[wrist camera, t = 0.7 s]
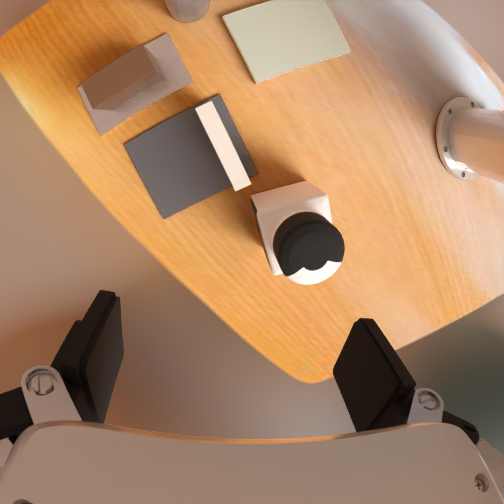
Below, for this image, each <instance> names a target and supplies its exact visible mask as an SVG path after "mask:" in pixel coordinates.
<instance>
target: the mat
mask: <svg viewBox="0 0 504 504" xmlns="http://www.w3.org/2000/svg"><path fill="white" fill-rule="evenodd" d="M210 101H212V103H213V105H214V107H215V109H216V111H217V113H218V115H219V117H220V119H221V121H222V123H223V125H224V127H225V129H226V131H227V133H228V136H229V138H230V140H231V142H232V144H233V146H234V148H235V150H236V152H237V154H238V156H239V159H240V161H241V163H242V165H243V167H244V169H245V171H246V173H247V176H248V178H250V177H252V176H254V175H256V174H258V173H257V171H256V169H255V167H254V165H253V162H252V160H251V158H250V156H249V154H248V152H247V149H246V147H245V145H244V143H243V141H242V139H241V137H240V135H239V132H238V130H237V128H236V126H235V124H234V122H233V120H232V118H231V116H230V114H229V112H228V109H227V107H226V105H225V103H224V101H223V99H222V97H221V95H220V94H219V95H217V96H215V97H213V98H211V99H208V100H206V101H204V102H202V103H200V104H198V105H196V106H194V107H192V108H190V109H188V110H186V111H184V112H182V113H180V114H178V115H176V116H174V117H172V118H170V119H168V120H166V121H164V122H163V123H161V124H159V125H157V126H155V127H154V128H152V129H150V130H148V131H146V132H145V133H143V134H141V135H140V136H138V137H136V138H134V139H133V140H131V141H129V142H128V143H126V144H125V145H124V146H125V148H126V150H127V152H128V154H129V156H130V158H131V160H132V162H133V164H134V166H135V168H136V170H137V171H138V173H139V175H140V177H141V179H142V181H143V183H144V185H145V186H146V188H147V190H148V192H149V194H150V196H151V197H152V199H153V201H154V203H155V205H156V206H157V208H158V210H159V212H160V214H161V215H162V217H163V219H166V218H168V217H170V216H172V215H173V214H175V213H177V212H179V211H181V210H183V209H185V208H187V207H189V206H191V205H193V204H195V203H197V202H199V201H201V200H203V199H205V198H207V197H209V196H212V195H214V194H216V193H218V192H220V191H222V190H224V189H226V188H228V187H230V186H232V183H231V182H230V180H229V178H228V176H227V174H226V172H225V170H224V168H223V166H222V164H221V162H220V160H219V158H218V155H217V153H216V151H215V149H214V147H213V145H212V143H211V141H210V139H209V137H208V135H207V133H206V131H205V129H204V127H203V125H202V123H201V121H200V119H199V116H198V114H197V112H196V110H195V108H197V107H199V106H201V105H203V104H206V103H208V102H210Z"/></svg>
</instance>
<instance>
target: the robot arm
mask: <svg viewBox="0 0 504 504" xmlns="http://www.w3.org/2000/svg"><path fill="white" fill-rule="evenodd" d="M436 142H437V148H438V153H439V156H440V159H441V161H442V163H443V165H444V166H445V168H446V169H447V171H448V172H449V173H450V174H452V175H453V176H455V177H456V178H459V179H461V180H472V179H475V178H476V177H478V176H479V175H482V176H484V177H487V178H490V179H493V180H496V181H498V182H501V183H504V111H498V110H489V109H482V108H481V107H480V106H479V104H478V103H476V102H475V101H474V100H472V99H470V98H466V97H456V98H453V99H451V100H450V101H448V102H447V103H446V104H445V105H444V107H443V108H442V110H441V112H440V115H439V117H438V121H437V127H436ZM123 354H124V348H123V338H122V324H121V308H120V297H116V295H115V293H114V292H110V291H105V290H100V291H99V293H98V294H97V296H96V298H95V299H94V301H93V303H92V304H91V306H90V308H89V309H88V311H87V313H86V315H85V316H84V318H83V320H82V321H80V320H77V321H75V323H74V324H73V326H72V328H71V329H70V331H69V333H68V335H67V336H66V338H65V340H64V342H63V344H62V345H61V347H60V349H59V351H58V353H57V355H56V356H55V358H54V360H53V362H52V364H51V366H50V367H49V366H44V365H40V366H34V367H32V368H30V369H29V370H28V371H26V372H25V374H24V375H23V376H22V380H21V385H22V387H19V388H16V389H14V390H10V391H8V392H5V393H2V394H0V467H1V466H2V465H4V467H3V469H2V472H1V476H0V504H504V500H503V498H502V496H501V492H502V490H503V488H504V455H503V454H501V453H500V452H499V451H497V450H496V449H495V448H494V447H492V446H491V445H490V444H488V443H487V442H486V441H485V440H483V439H481V440H480V441H479V434H478V431H477V430H476V427H475V426H474V425H473V424H471V423H469V422H467V421H465V420H463V419H461V418H458V417H456V416H454V415H452V414H450V413H448V412H446V411H444V410H443V401H442V399H441V397H440V396H439V395H438V394H437V393H436V392H435V391H433V390H431V389H428V388H420V389H418V390H417V391H415V390H414V387H415V385H416V383H415V381H414V380H413V378H412V376H411V375H410V373H409V372H408V370H407V369H406V367H405V365H404V364H403V362H402V361H401V359H400V358H399V356H398V355H397V353H396V352H395V350H394V349H393V347H392V346H391V344H390V343H389V341H388V340H387V338H386V337H385V335H384V334H383V332H382V331H381V330H380V328H379V327H378V325H377V324H376V322H375V321H374V320H373V319H368V318H360V319H359V320H358V321H356V322H355V323H354V324H353V326H352V329H351V331H350V333H349V336H348V338H347V340H346V342H345V344H344V347H343V349H342V351H341V353H340V355H339V357H338V359H337V361H336V364H335V366H334V368H333V375H334V377H335V380H336V382H337V385H338V387H339V389H340V392H341V394H342V397H343V399H344V402H345V404H346V407H347V409H348V412H349V414H350V417H351V419H352V422H353V424H354V426H355V429H356V433H348V434H339V435H331V436H319V437H307V438H306V437H305V438H289V439H288V438H287V439H229V438H209V437H196V436H185V435H175V434H167V433H160V432H152V431H144V430H138V429H132V428H126V427H120V426H114V425H108V424H104V420H105V417H106V413H107V409H108V406H109V402H110V399H111V395H112V392H113V388H114V385H115V382H116V378H117V375H118V372H119V369H120V365H121V362H122V359H123Z"/></svg>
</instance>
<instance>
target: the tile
mask: <svg viewBox="0 0 504 504" xmlns="http://www.w3.org/2000/svg"><path fill="white" fill-rule="evenodd" d="M195 110H196V112H197V114H198V116H199V119H200V121H201V123H202V125H203V127H204V129H205V131H206V133H207V135H208V137H209V139H210V141H211V143H212V145H213V147H214V149H215V151H216V153H217V155H218V158H219V160H220V162H221V164H222V166H223V168H224V170H225V172H226V174H227V176H228V178H229V180H230V182H231V183H232V185H233V187H234V189H235V191H238V190H240V189H242V188H244V187H246V186H248V185H251V182H250V180H249V178H248V176H247V173H246V171H245V169H244V167H243V165H242V163H241V161H240V159H239V156H238V154H237V152H236V150H235V148H234V146H233V144H232V142H231V140H230V138H229V136H228V133H227V131H226V129H225V127H224V125H223V123H222V121H221V119H220V117H219V115H218V113H217V111H216V109H215V107H214V105H213V103H212V101H210V102H208V103H206V104H203V105H201V106H199V107H197V108H195Z"/></svg>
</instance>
